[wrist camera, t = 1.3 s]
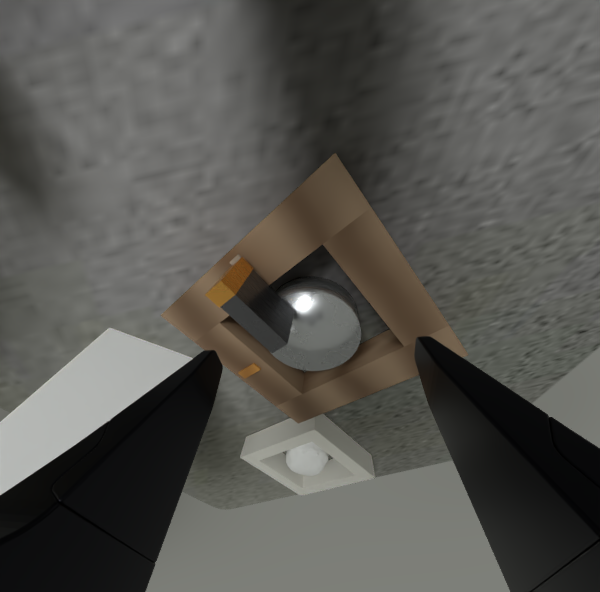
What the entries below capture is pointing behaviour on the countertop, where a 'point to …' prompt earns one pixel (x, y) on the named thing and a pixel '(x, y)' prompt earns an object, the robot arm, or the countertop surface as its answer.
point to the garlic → (306, 459)
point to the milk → (80, 401)
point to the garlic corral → (320, 430)
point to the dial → (292, 316)
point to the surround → (360, 269)
